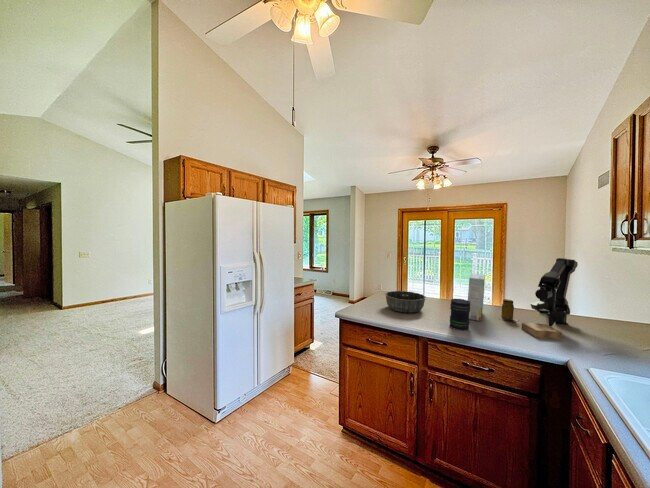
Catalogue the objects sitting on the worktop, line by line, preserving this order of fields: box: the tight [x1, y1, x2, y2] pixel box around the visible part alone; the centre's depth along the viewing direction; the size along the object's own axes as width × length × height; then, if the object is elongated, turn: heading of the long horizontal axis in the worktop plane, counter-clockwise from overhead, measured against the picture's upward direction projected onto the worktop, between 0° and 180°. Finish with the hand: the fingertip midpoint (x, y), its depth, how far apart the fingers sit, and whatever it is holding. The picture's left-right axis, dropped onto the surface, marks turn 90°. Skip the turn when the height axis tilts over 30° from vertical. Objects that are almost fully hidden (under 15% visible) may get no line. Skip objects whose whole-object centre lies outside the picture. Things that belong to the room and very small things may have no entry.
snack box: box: [467, 273, 486, 322], centre depth 167 cm, size 22×9×26 cm, turn 148°
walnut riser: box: [521, 322, 563, 341], centre depth 139 cm, size 12×12×4 cm
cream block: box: [538, 313, 556, 329], centre depth 150 cm, size 5×5×7 cm
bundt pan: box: [384, 290, 427, 314], centre depth 178 cm, size 26×26×10 cm
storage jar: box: [449, 298, 471, 331], centre depth 147 cm, size 10×10×15 cm
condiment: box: [498, 298, 519, 323], centre depth 161 cm, size 7×8×12 cm
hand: (547, 324), depth 150 cm, fingers closed on cream block, 5 cm apart
